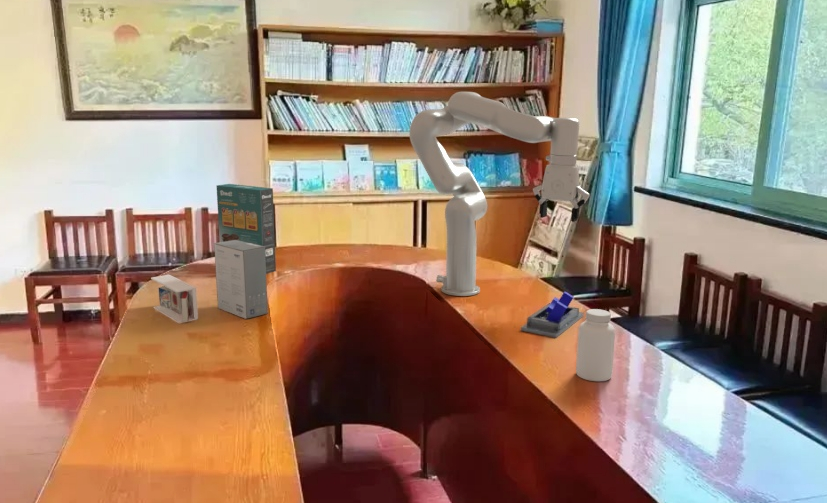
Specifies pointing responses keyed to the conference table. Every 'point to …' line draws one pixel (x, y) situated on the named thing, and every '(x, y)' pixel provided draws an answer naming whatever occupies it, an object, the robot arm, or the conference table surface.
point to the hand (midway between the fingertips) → (558, 219)
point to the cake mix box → (247, 217)
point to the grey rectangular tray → (551, 322)
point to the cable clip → (558, 307)
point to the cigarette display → (177, 299)
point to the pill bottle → (595, 346)
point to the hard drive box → (241, 278)
